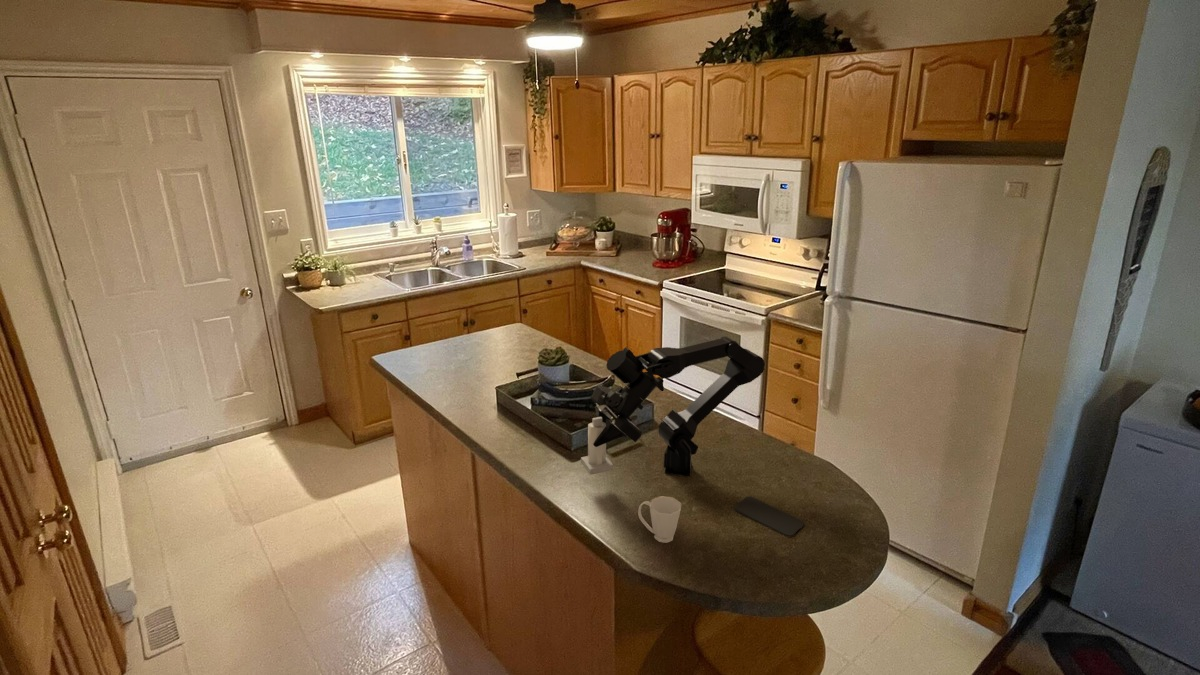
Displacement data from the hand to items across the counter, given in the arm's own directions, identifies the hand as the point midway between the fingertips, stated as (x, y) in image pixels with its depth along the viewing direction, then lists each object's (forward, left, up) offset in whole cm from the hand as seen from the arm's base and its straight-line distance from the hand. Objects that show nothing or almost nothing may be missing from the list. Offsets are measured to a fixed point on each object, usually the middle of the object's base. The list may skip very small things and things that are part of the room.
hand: (591, 442), depth 151 cm
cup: (-18, +15, -13) cm, 27 cm away
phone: (-42, +3, -13) cm, 44 cm away
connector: (-1, -1, -7) cm, 7 cm away
